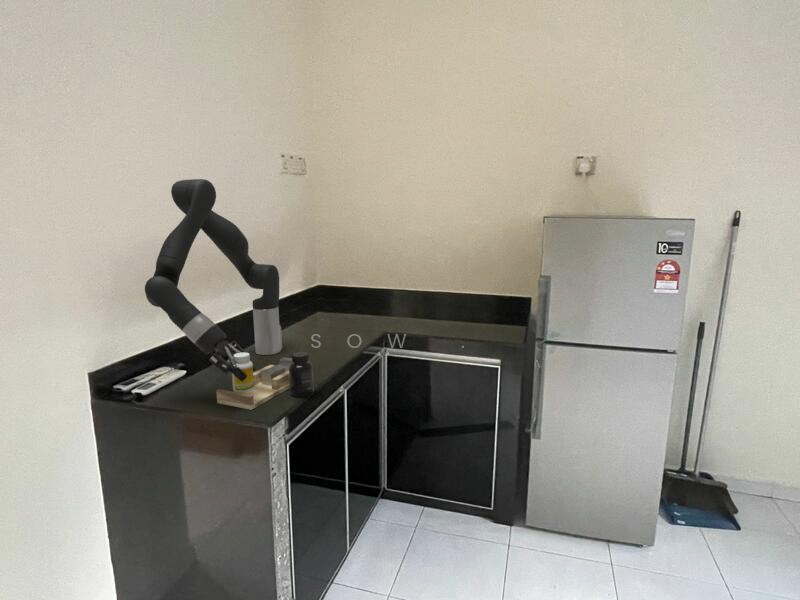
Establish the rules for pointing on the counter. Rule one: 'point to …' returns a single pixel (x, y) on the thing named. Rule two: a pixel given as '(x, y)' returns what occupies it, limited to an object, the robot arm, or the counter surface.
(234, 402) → the cradle
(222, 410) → the counter surface
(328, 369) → the counter surface
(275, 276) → the robot arm
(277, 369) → the shaft
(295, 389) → the supplement bottle
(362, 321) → the counter surface
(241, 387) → the supplement bottle
